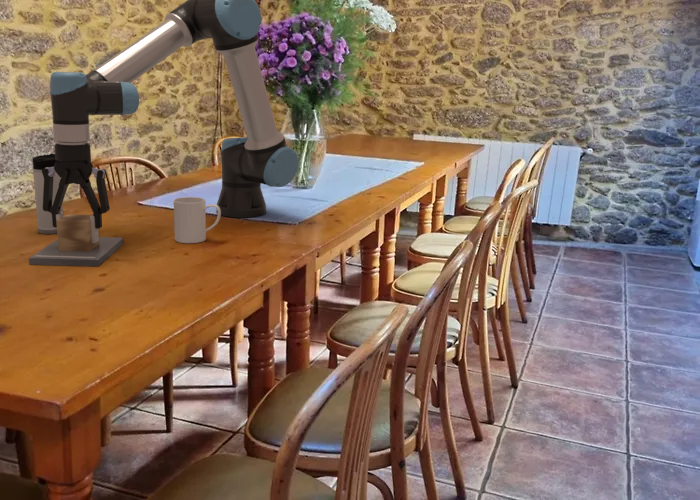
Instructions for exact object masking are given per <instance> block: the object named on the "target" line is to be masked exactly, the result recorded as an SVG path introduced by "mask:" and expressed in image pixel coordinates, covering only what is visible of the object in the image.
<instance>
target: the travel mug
mask: <svg viewBox="0 0 700 500" xmlns="http://www.w3.org/2000/svg"><path fill="white" fill-rule="evenodd" d="M55 163H56V160H55V153H50V154H42V155H41V154H40V155H36V156H33V158H32V171H33V173H32V174H33V186H34V197H35V208H36V209H35V210H36V223H37V231H38V233H39V234H42V235H54V234H57V227H53V222H52V214H51V213H50V212H48V211H44V210H43V191H44V177H43V174H42V169H44V168H46V167H54V165H55ZM60 179H61V178H60V177H59V175H58V174H57V173H56V172H55V175H54V176H53V198H52V206H53V203H54V200H55V197H56V193H57V190H58V187H59V182H60ZM60 210H61V211H59V213H60V212H64V209H63V205H62V206H61V209H60Z"/></svg>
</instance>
